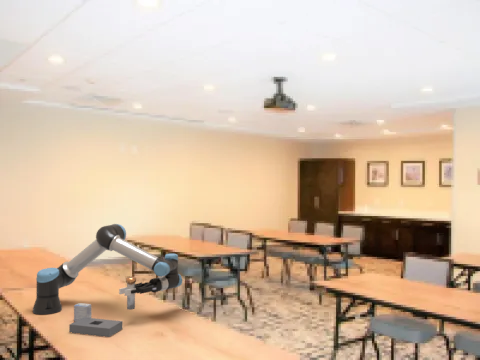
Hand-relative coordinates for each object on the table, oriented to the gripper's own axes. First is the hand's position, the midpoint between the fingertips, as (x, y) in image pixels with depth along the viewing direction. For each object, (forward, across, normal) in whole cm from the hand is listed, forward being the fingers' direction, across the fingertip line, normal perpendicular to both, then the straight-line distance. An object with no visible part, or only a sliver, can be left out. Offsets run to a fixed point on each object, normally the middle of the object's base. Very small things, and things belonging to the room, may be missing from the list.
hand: (122, 292), depth 227 cm
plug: (-5, 0, -10) cm, 11 cm away
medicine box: (+9, +22, -17) cm, 29 cm away
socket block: (+13, +2, -17) cm, 22 cm away
